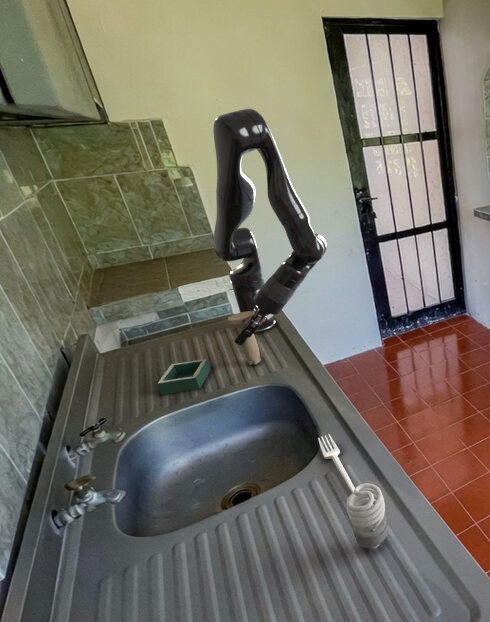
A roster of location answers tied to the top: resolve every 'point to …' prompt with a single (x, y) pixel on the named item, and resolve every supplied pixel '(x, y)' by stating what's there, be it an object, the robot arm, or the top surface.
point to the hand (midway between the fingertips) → (240, 339)
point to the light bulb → (368, 515)
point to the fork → (335, 459)
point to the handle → (250, 344)
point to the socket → (184, 376)
